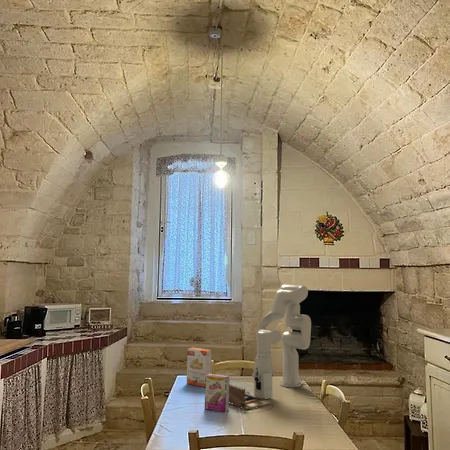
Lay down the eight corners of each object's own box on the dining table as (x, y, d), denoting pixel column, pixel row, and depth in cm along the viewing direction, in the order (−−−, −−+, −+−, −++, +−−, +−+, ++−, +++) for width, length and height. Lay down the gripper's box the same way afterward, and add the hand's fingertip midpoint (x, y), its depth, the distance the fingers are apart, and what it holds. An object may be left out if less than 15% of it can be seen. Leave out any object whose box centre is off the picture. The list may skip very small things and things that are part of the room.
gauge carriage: (244, 396, 233) (244, 392, 234) (264, 403, 221) (264, 399, 221) (233, 398, 229) (233, 394, 229) (253, 406, 217) (253, 401, 217)
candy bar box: (204, 409, 212) (204, 375, 214) (207, 407, 217) (208, 373, 219) (225, 412, 209) (226, 377, 210) (229, 409, 213) (229, 375, 215)
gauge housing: (247, 396, 237) (247, 379, 238) (270, 404, 223) (270, 386, 224) (224, 401, 227) (224, 383, 228) (247, 410, 213) (247, 391, 214)
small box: (272, 397, 234) (272, 372, 235) (264, 399, 230) (263, 374, 231) (262, 393, 240) (262, 369, 241) (254, 396, 236) (253, 371, 237)
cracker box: (186, 384, 259) (187, 348, 262) (192, 382, 265) (193, 346, 267) (205, 387, 252) (206, 351, 254) (211, 385, 257) (212, 349, 259)
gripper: (270, 351, 245) (270, 384, 244) (247, 355, 235) (246, 389, 233) (279, 354, 240) (279, 387, 238) (256, 357, 229) (256, 392, 227)
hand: (263, 388), depth 235 cm, fingers open, 6 cm apart
